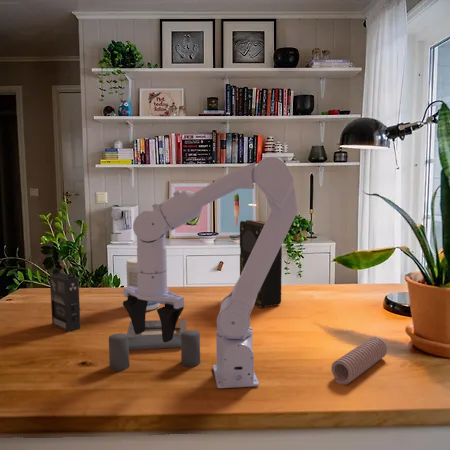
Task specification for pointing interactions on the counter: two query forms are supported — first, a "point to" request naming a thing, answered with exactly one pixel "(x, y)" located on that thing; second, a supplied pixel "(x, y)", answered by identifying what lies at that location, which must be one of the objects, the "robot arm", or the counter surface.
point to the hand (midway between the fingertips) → (153, 336)
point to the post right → (190, 348)
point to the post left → (118, 352)
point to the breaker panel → (154, 336)
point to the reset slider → (178, 323)
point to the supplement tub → (136, 280)
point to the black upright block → (272, 282)
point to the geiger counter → (65, 300)
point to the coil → (358, 360)
